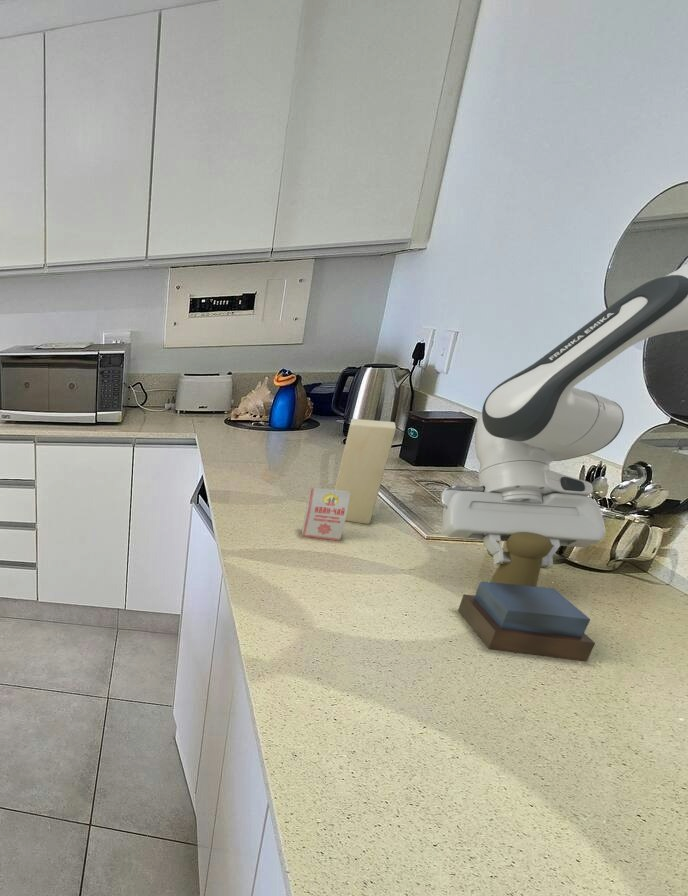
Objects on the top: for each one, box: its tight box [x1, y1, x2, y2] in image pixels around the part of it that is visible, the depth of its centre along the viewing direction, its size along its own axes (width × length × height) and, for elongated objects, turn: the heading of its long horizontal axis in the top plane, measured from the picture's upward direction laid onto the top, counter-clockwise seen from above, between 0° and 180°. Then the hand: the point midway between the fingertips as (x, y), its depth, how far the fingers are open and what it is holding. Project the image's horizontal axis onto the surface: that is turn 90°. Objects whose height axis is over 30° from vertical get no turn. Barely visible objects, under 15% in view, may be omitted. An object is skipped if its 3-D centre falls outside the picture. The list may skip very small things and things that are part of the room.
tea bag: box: [301, 487, 350, 542], centre depth 118 cm, size 4×7×10 cm, turn 64°
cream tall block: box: [333, 418, 397, 525], centre depth 124 cm, size 8×7×21 cm
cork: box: [489, 532, 552, 587], centre depth 93 cm, size 6×6×11 cm
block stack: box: [457, 580, 596, 662], centre depth 84 cm, size 11×11×6 cm
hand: (523, 565), depth 92 cm, fingers closed on cork, 4 cm apart
